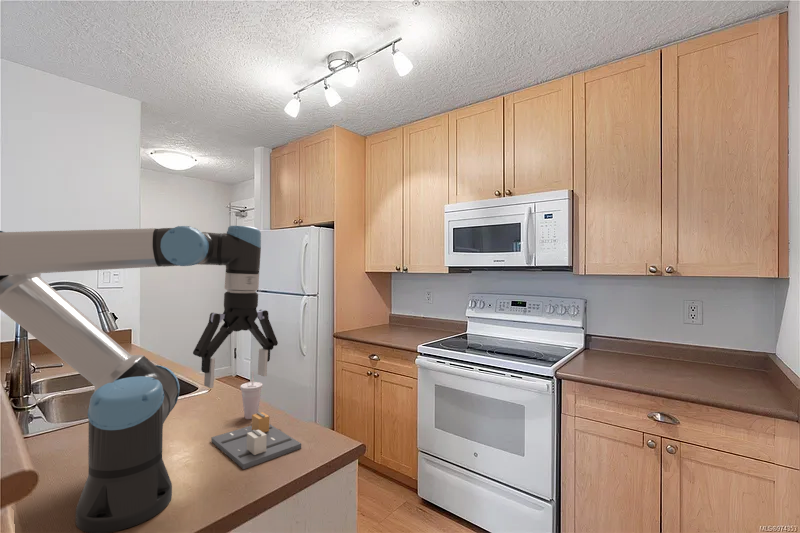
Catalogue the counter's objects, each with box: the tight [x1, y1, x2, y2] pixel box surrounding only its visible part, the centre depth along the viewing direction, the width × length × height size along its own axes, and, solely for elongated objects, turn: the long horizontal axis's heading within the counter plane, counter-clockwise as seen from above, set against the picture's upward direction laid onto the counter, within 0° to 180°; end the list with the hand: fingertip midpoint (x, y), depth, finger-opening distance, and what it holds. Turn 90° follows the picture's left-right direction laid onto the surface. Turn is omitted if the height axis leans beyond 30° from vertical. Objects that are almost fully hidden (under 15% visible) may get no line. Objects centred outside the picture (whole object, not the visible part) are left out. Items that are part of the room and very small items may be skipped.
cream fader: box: [247, 430, 266, 455], centre depth 97 cm, size 3×4×4 cm
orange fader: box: [251, 411, 270, 433], centre depth 108 cm, size 3×4×4 cm
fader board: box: [210, 423, 302, 470], centre depth 102 cm, size 15×19×1 cm
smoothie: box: [239, 370, 264, 420], centre depth 121 cm, size 6×6×14 cm
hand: (236, 380), depth 95 cm, fingers open, 13 cm apart
